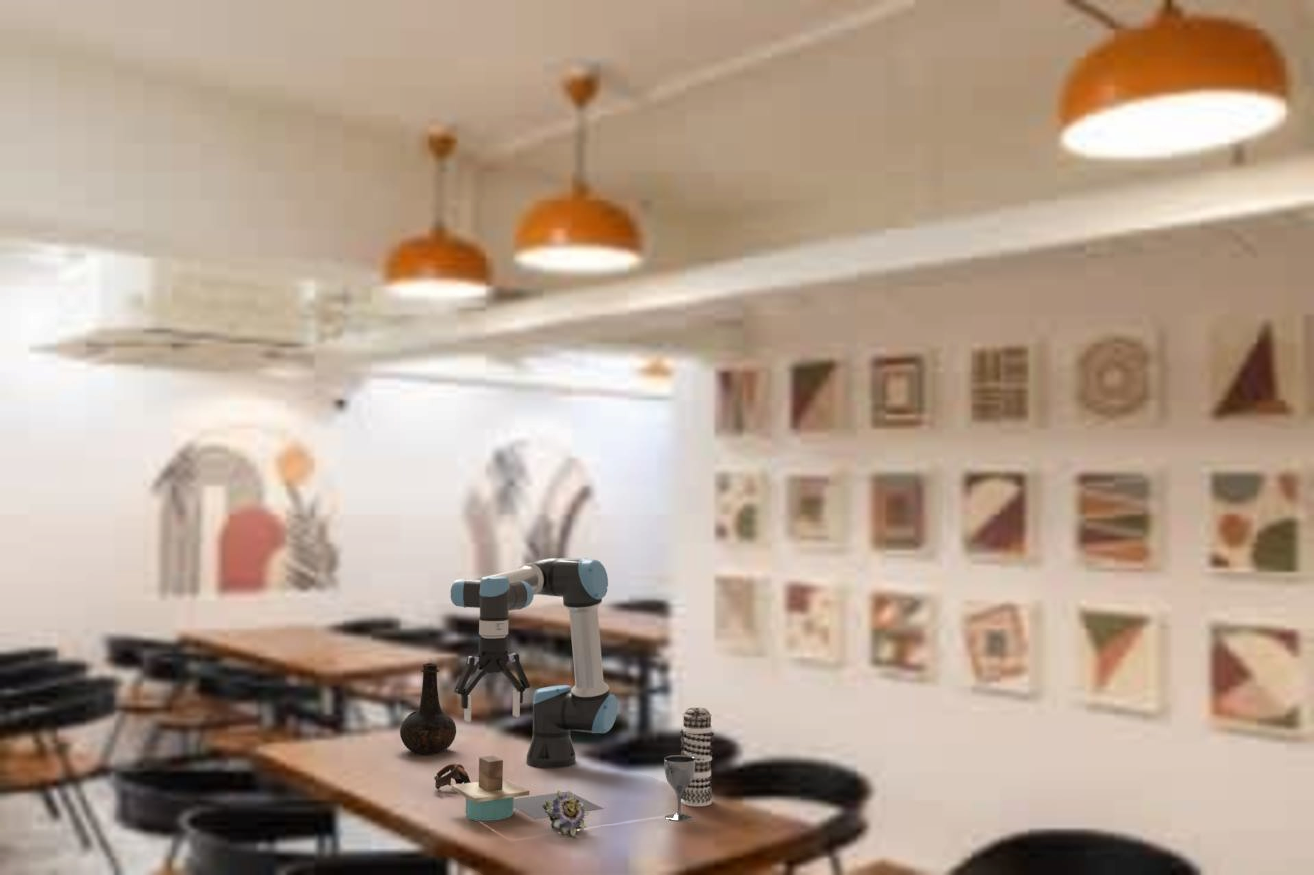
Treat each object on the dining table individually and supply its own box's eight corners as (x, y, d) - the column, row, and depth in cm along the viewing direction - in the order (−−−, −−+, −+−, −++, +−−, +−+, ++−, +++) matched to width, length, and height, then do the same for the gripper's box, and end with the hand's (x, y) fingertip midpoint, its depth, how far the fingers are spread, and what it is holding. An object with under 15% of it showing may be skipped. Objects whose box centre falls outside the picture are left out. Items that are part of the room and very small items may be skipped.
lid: (504, 782, 307) (505, 750, 308) (529, 795, 294) (530, 761, 295) (451, 789, 299) (452, 756, 300) (474, 802, 286) (475, 768, 287)
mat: (568, 793, 320) (568, 791, 320) (603, 810, 303) (603, 808, 303) (502, 802, 309) (502, 800, 309) (534, 821, 292) (534, 819, 292)
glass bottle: (429, 743, 381) (431, 658, 382) (467, 750, 370) (469, 663, 372) (387, 752, 366) (389, 664, 368) (426, 760, 356) (428, 669, 357)
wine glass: (698, 815, 300) (698, 756, 300) (689, 823, 292) (689, 763, 293) (669, 811, 302) (670, 754, 303) (659, 819, 295) (660, 760, 296)
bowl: (501, 807, 305) (502, 784, 305) (520, 818, 295) (521, 794, 295) (459, 813, 298) (459, 789, 299) (477, 824, 288) (477, 800, 289)
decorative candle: (689, 808, 306) (690, 713, 307) (673, 800, 314) (674, 707, 315) (719, 804, 310) (720, 711, 311) (702, 796, 318) (703, 705, 320)
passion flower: (571, 858, 280) (558, 825, 274) (540, 841, 287) (526, 808, 281) (601, 825, 286) (588, 792, 280) (570, 808, 293) (557, 776, 287)
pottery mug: (471, 796, 317) (456, 772, 315) (441, 810, 318) (426, 785, 317) (479, 775, 329) (465, 751, 327) (450, 788, 330) (436, 764, 328)
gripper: (453, 640, 289) (452, 726, 288) (543, 635, 303) (541, 716, 302) (442, 637, 296) (441, 720, 295) (530, 632, 309) (529, 711, 308)
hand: (492, 718), depth 298 cm, fingers open, 13 cm apart
